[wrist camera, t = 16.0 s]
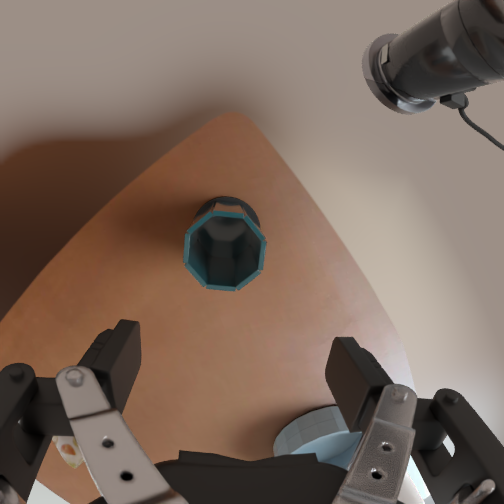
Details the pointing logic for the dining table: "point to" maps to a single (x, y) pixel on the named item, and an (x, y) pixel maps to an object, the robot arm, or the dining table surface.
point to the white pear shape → (68, 450)
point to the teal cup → (224, 247)
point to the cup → (409, 492)
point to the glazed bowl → (319, 437)
